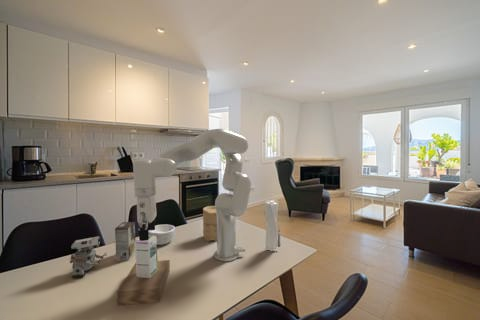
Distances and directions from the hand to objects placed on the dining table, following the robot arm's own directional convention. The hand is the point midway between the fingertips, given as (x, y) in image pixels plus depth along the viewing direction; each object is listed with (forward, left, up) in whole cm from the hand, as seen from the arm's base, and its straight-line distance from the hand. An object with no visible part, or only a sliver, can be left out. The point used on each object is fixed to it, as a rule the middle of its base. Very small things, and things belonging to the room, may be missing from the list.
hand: (147, 234), depth 87 cm
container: (-26, -45, -21) cm, 56 cm away
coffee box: (+18, -27, -21) cm, 38 cm away
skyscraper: (-57, -25, -21) cm, 66 cm away
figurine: (+29, -14, -21) cm, 38 cm away
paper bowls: (+4, -43, -21) cm, 48 cm away
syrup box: (0, 0, -16) cm, 16 cm away
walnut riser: (+1, 0, -20) cm, 20 cm away
